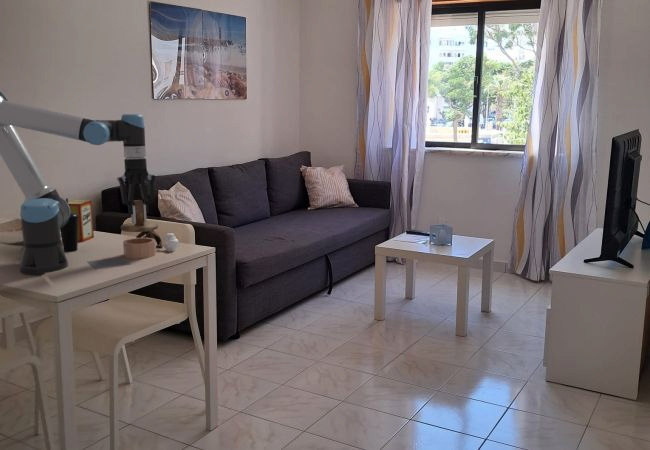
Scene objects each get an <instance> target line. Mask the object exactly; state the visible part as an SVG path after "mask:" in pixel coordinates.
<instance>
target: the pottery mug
mask: <svg viewBox="0 0 650 450" xmlns="http://www.w3.org/2000/svg"><path fill="white" fill-rule="evenodd" d="M135 238H153V239H155V240H156V246H160V248H161V249H162V248H164V246H163V244H162V238H161V237H160V235H159V234H158V233H157V232H156V231H155V230H151V231H145V232H138V234H137V235H136V236H135Z"/></svg>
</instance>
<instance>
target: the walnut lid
mask: <svg viewBox="0 0 650 450" xmlns="http://www.w3.org/2000/svg"><path fill="white" fill-rule="evenodd" d="M143 204H144V203H143V199H137V200H136V199H134V200H133V205H134V206H135V213H136V224H133V223H132V222H129V223H123V224H122V225H120V230H121V231H122V232H125V233H141V232H145V231H151V230H154V231H155V230H157V229H159V224H158V223H157V222H154V221H147V223H144V216H143Z"/></svg>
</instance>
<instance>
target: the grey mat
mask: <svg viewBox="0 0 650 450" xmlns="http://www.w3.org/2000/svg"><path fill="white" fill-rule="evenodd" d="M87 264H88V265H90V266H91V267H93V269H95V270H98V269H106V268H107V269H108V268H114V267H123V266H129V265H131V262H129V261H127V260H126V259H124V258H123V257H121V256H120V257H113V258H105V259H103V258H102V259H98V260H89V261H87Z"/></svg>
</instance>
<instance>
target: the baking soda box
mask: <svg viewBox="0 0 650 450" xmlns="http://www.w3.org/2000/svg"><path fill="white" fill-rule="evenodd" d="M68 205H69V207H70V212H74V213H76V214H79V216H78V241H77V243H84V242H86V241H89V240H92V239H93V238H95V237H94V234H95V233H94V223H93V222H94V221H93V220H94V219H93V204H92V200H91V199H90V200H89V199H85V200H83V199H75V200H72V201H68Z"/></svg>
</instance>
